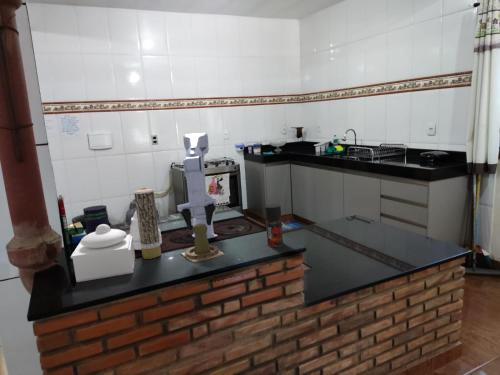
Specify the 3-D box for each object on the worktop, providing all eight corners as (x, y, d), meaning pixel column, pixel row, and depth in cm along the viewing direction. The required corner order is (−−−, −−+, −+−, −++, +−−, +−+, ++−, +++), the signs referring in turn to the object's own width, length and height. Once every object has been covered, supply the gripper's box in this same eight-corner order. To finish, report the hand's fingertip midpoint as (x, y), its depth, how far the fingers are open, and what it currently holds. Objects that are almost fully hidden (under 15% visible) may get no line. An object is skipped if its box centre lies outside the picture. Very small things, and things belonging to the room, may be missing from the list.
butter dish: (133, 273, 121) (127, 226, 118) (74, 283, 116) (67, 235, 114) (135, 256, 137) (130, 215, 135) (84, 264, 133) (77, 222, 130)
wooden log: (164, 253, 137) (157, 188, 134) (154, 260, 131) (146, 192, 127) (149, 253, 140) (141, 189, 136) (138, 259, 133) (130, 192, 130)
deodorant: (265, 246, 137) (262, 207, 135) (270, 241, 142) (267, 204, 140) (280, 247, 135) (277, 207, 132) (285, 242, 140) (282, 204, 138)
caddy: (180, 254, 135) (180, 250, 135) (209, 246, 141) (209, 242, 141) (194, 263, 125) (193, 258, 125) (224, 254, 131) (224, 249, 131)
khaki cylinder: (207, 256, 129) (204, 226, 128) (191, 256, 131) (188, 226, 129) (212, 250, 135) (210, 221, 133) (197, 250, 137) (194, 222, 135)
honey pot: (168, 242, 151) (163, 200, 149) (140, 251, 142) (134, 207, 139) (151, 238, 160) (146, 198, 157) (124, 246, 151) (118, 204, 148)
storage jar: (91, 244, 157) (86, 211, 155) (84, 240, 164) (79, 208, 162) (114, 239, 163) (110, 206, 161) (106, 235, 171) (102, 204, 169)
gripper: (181, 194, 122) (185, 233, 125) (219, 188, 130) (222, 224, 132) (173, 192, 128) (177, 229, 130) (210, 186, 136) (213, 221, 138)
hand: (199, 227), depth 132 cm, fingers open, 7 cm apart
